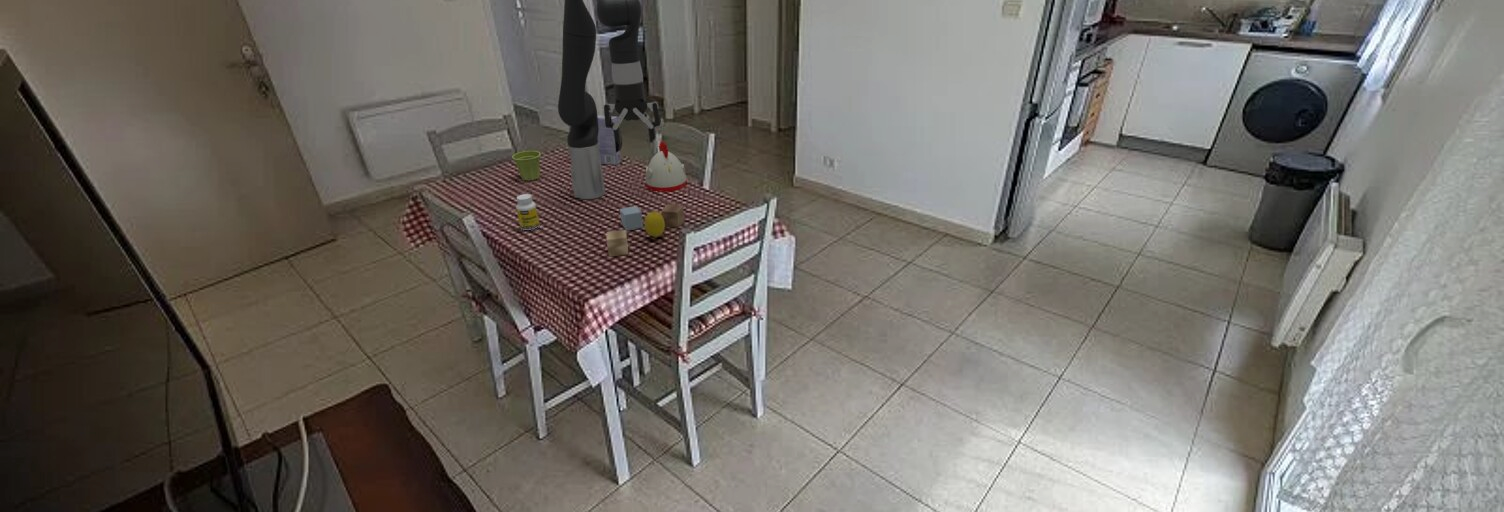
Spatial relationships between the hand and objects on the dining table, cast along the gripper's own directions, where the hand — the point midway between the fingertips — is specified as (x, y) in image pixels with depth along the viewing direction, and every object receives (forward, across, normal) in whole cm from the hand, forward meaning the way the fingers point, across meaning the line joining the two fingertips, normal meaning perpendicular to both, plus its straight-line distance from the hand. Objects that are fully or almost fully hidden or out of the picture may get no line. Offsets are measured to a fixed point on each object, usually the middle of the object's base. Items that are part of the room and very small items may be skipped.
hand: (635, 142), depth 158 cm
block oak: (+27, -6, -12) cm, 30 cm away
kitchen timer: (+27, +1, +37) cm, 46 cm away
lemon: (+27, +3, -4) cm, 27 cm away
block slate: (+26, -5, +4) cm, 27 cm away
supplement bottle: (+26, -35, +5) cm, 44 cm away
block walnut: (+27, +7, +5) cm, 28 cm away
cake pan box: (+26, -27, +62) cm, 72 cm away
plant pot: (+26, -48, +46) cm, 71 cm away
